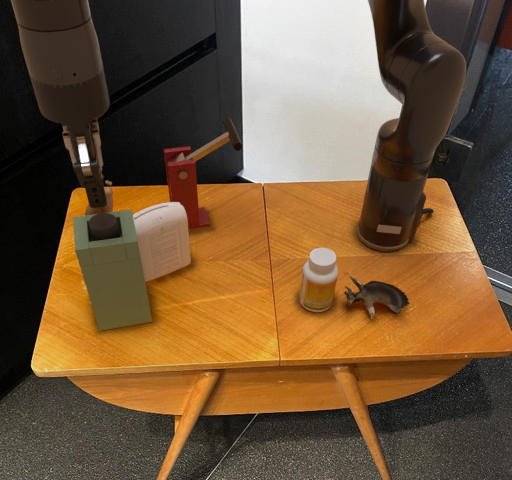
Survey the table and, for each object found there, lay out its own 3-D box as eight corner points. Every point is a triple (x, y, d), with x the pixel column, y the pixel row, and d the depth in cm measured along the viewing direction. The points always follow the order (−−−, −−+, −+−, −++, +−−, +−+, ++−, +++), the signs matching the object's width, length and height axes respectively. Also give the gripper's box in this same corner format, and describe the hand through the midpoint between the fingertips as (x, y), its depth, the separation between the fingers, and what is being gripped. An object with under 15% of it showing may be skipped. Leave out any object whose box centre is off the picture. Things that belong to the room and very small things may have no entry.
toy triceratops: (351, 328, 82) (411, 319, 82) (346, 282, 80) (407, 272, 80) (345, 315, 90) (400, 306, 89) (340, 273, 88) (396, 263, 87)
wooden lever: (234, 124, 91) (227, 113, 90) (245, 150, 86) (238, 138, 85) (173, 161, 94) (165, 151, 92) (180, 188, 89) (172, 178, 87)
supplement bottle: (293, 295, 88) (298, 249, 81) (321, 285, 90) (329, 240, 83) (309, 317, 85) (316, 272, 78) (338, 307, 87) (348, 262, 79)
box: (146, 290, 88) (131, 209, 76) (152, 322, 84) (137, 241, 72) (96, 298, 87) (72, 217, 75) (99, 331, 83) (74, 250, 70)
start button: (119, 229, 76) (115, 211, 74) (121, 246, 74) (117, 227, 71) (92, 233, 75) (87, 214, 73) (94, 250, 73) (89, 231, 71)
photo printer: (183, 251, 95) (176, 190, 85) (195, 265, 92) (190, 205, 83) (128, 273, 91) (115, 212, 81) (140, 288, 88) (128, 227, 79)
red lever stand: (204, 210, 102) (200, 143, 91) (210, 231, 98) (207, 162, 88) (161, 216, 101) (152, 148, 90) (166, 237, 97) (157, 168, 86)
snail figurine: (133, 244, 95) (122, 186, 86) (108, 265, 92) (94, 206, 83) (110, 233, 97) (96, 174, 88) (84, 253, 94) (67, 194, 84)
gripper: (107, 91, 53) (133, 232, 67) (98, 36, 61) (123, 171, 75) (27, 99, 52) (70, 240, 65) (28, 41, 60) (66, 178, 73)
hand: (98, 203), depth 70 cm, fingers closed
